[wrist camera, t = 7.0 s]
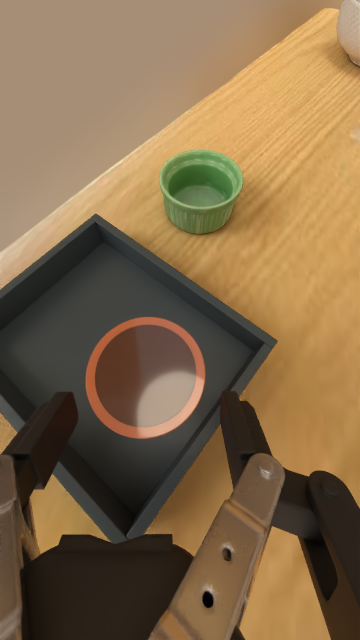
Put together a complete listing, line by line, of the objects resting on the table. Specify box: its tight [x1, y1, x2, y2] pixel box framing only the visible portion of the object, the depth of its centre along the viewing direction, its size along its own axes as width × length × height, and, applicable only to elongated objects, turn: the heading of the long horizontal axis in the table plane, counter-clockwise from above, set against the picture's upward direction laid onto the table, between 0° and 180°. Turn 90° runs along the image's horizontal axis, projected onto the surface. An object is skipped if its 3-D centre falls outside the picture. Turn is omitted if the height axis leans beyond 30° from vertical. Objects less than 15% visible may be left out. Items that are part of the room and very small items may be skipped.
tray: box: [0, 214, 277, 544], centre depth 21 cm, size 18×22×4 cm
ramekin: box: [159, 150, 243, 234], centre depth 27 cm, size 9×9×4 cm
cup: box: [86, 317, 206, 439], centre depth 16 cm, size 6×6×9 cm
